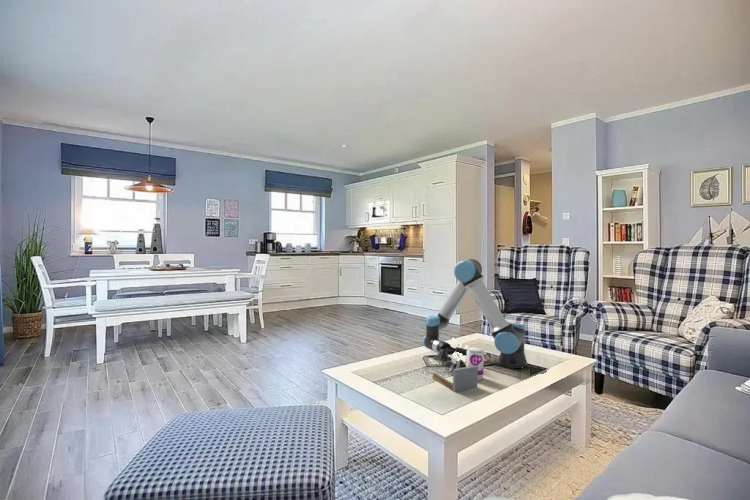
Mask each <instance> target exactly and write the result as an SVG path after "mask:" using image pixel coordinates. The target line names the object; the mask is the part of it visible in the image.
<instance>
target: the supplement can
mask: <svg viewBox="0 0 750 500" xmlns="http://www.w3.org/2000/svg"><path fill="white" fill-rule="evenodd" d="M484 355H485V351H484V349H483V348H481V347H478V346H468V348H467V356H466V358H465V359H466V365H465V367H470V366H478V377H477V382H479V381H482V380H483V379H484V364H485V363H484V360H485V359H484V357H485V356H484Z"/></svg>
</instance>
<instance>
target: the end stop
mask: <svg viewBox="0 0 750 500" xmlns="http://www.w3.org/2000/svg"><path fill="white" fill-rule="evenodd" d="M452 370H453V376H452V383H453V393H456V392H461V391H467V390H468V391H469V390H472V389H476V388H478V381H477V377H478V366H470V367H466V366H465V367H458V368H453V369H452Z"/></svg>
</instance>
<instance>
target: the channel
mask: <svg viewBox="0 0 750 500" xmlns="http://www.w3.org/2000/svg"><path fill="white" fill-rule="evenodd" d="M451 376H452V377H453V369H452V370H451ZM432 379H433V380H434V381H436V382H438V383H440V384H441V385H442V386H444V387H446V388H448V389H449V390H451V391H453V382H451V381H450V380H448V379H446V378H445V377H442V376H440V375H439V374H438V373H435V372H433V373H432ZM453 392H454V391H453Z"/></svg>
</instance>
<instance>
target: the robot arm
mask: <svg viewBox="0 0 750 500" xmlns="http://www.w3.org/2000/svg"><path fill="white" fill-rule="evenodd" d="M482 271H483V266H482V264H481V263H480V262H479V260H477V259H473V258H469V259H462V260H460V261H458V262H457V263H456V264H455V266H454V268H453V274H454V277H455V279H456V280H457V283H456V284H455V286H454V288H453V289H452V291H451V292H450V294H449V296H448V297H447V299H446V300H445V302H444V304H443V306H442V307H441V309H440V310H439V313H438V314H437V315H428V316H427V317H426V321H425V327H426V329H425V335H424V336H423V338H422V340H421V341H422V345H423V346H424V347H425V348H426V349H428V350H430V351H432V352H434V353H437V355H438V356H439V358H440V360H441V361H443V360H444V362H447V361H448V362H451V363H453V364H454V365H456V364H457V358H456V357H454V356H453V355H452V354H453V353H454V352H455V353H456V352H459V353H462V354H463V355H462V356H466V357H467V350H468V348H467V349H466V348H463V347H458V346H457V347H452V346H451V344H450V343H449V342H446V341H444V340H441V339H440V331H441V330H443V329H445V328H447V326H448V325H449V324H450V320H451V318H452V317H453V316H454V313H455V312H456V310H457V309H458V307H459V306H460V304H461V302H462V301H463V299H464V297H465V296H466V294H467V293H468V291H469V292H470V293H471V296H472V297H473V299H474V300H475V302H476V304H477V306H478V307H479V310H480V311H481V312H482V315H483V317H484V318H485V319H486V321H487V323H488V325H489V327H490V328H491V330H490V334H491V336H492V338H493V341H494V346H495V348H496V350H498V351H499V352H500V354H499V356H498V358H497V360H498V361H497V363H498V364H499V365H500V366H502V367H504V368H509V369H514V368H522V367H525V366H527V367H528V360H527V359H526V355H525V354H526V353H525V341H526V325H524V324H523V323H518V322H517V323H516V322H510V321H507V320H506V318H505V316H504V315H503V313H502V311H501V310H500V308H499V307H498V305H497V303H496V301H495V300H494V298H493V296H492V295H491V292H490V291H489V289H488V288H487V286H486V285H485V283H484V282H483V281H484V276H483V274H482ZM522 369H523V368H522Z"/></svg>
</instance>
